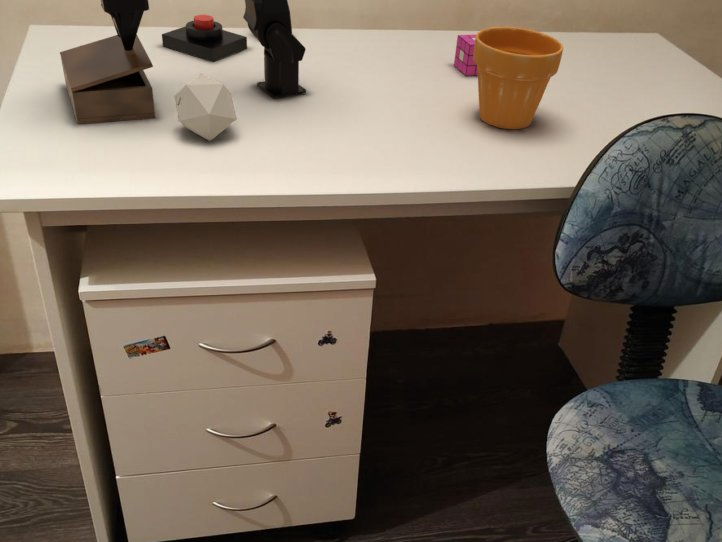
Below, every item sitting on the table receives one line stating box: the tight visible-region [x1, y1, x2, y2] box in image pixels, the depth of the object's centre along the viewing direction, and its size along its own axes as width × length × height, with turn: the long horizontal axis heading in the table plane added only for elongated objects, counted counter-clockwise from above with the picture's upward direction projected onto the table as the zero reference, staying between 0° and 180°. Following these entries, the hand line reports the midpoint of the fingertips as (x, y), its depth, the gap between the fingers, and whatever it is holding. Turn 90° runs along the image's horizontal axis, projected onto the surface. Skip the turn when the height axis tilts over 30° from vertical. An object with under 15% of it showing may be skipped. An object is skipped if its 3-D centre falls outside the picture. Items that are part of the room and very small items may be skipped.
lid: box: [59, 18, 154, 92], centre depth 123 cm, size 12×16×5 cm
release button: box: [193, 14, 215, 29], centre depth 149 cm, size 4×4×2 cm
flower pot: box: [473, 26, 564, 130], centre depth 133 cm, size 14×14×13 cm
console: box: [161, 20, 248, 63], centre depth 150 cm, size 12×10×4 cm
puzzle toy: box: [453, 34, 478, 77], centre depth 153 cm, size 6×6×6 cm
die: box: [174, 73, 238, 142], centre depth 121 cm, size 8×9×10 cm
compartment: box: [60, 57, 156, 125], centre depth 127 cm, size 12×16×5 cm
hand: (125, 43), depth 124 cm, fingers closed on lid, 6 cm apart
